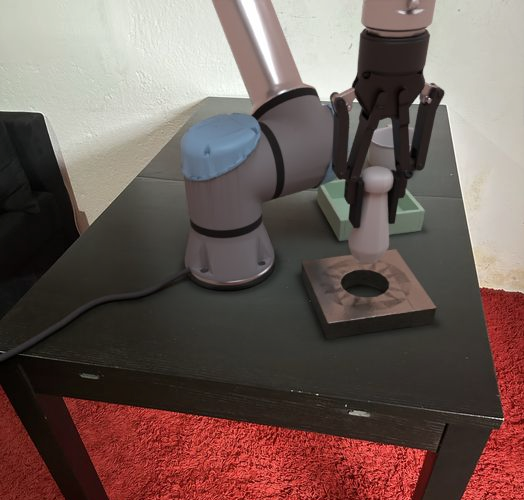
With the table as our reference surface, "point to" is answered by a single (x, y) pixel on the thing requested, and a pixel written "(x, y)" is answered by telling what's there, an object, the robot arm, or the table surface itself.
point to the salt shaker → (372, 216)
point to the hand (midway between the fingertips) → (371, 220)
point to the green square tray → (338, 208)
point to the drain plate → (360, 308)
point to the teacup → (384, 147)
